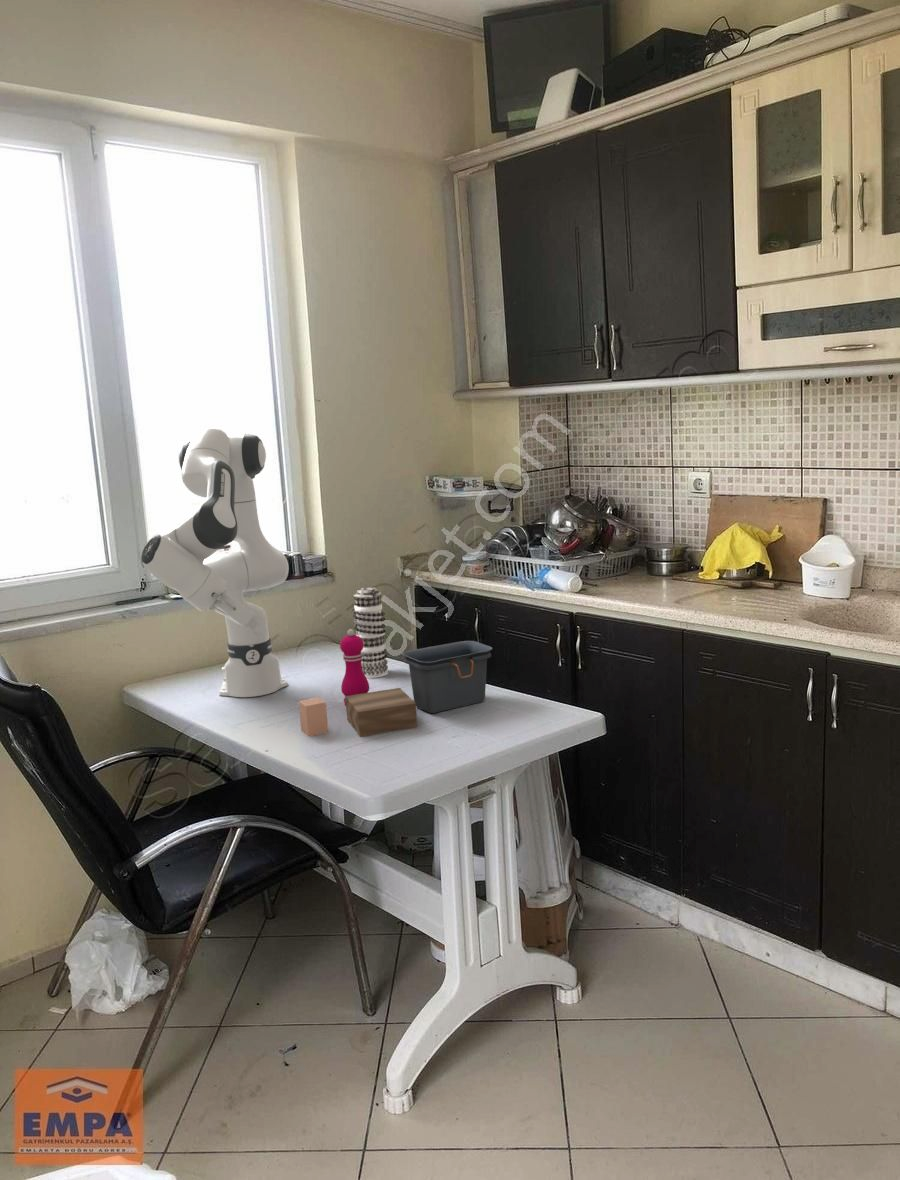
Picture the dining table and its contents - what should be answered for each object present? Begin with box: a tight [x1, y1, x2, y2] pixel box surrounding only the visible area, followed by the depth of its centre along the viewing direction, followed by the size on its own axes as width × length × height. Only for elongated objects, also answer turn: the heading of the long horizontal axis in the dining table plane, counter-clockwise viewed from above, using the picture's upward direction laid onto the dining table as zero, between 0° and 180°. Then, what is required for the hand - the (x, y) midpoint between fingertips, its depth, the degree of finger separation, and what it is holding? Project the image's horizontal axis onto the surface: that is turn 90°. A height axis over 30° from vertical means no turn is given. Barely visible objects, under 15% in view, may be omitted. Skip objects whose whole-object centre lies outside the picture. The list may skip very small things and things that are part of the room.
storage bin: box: [402, 640, 493, 714], centre depth 240 cm, size 21×16×14 cm
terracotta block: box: [298, 696, 329, 737], centre depth 227 cm, size 5×5×8 cm
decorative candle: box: [352, 586, 389, 679], centre depth 272 cm, size 9×9×25 cm
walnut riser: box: [344, 687, 418, 738], centre depth 230 cm, size 14×14×6 cm
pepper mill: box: [339, 628, 370, 707], centre depth 245 cm, size 7×7×20 cm
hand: (254, 627), depth 217 cm, fingers open, 8 cm apart
